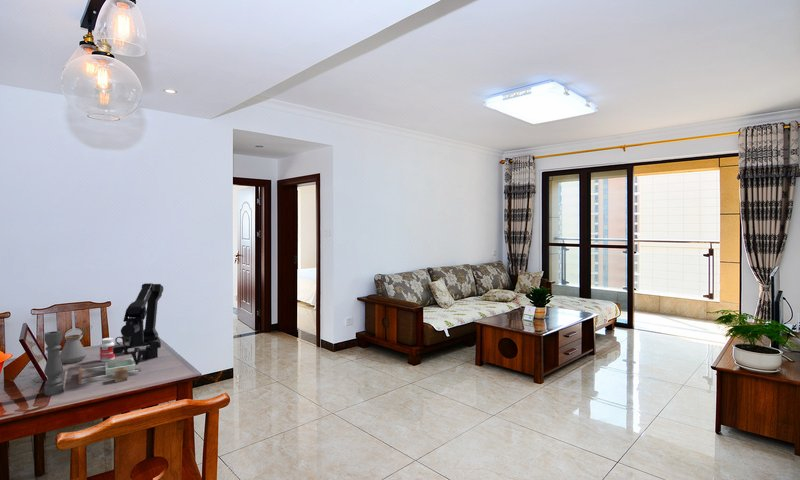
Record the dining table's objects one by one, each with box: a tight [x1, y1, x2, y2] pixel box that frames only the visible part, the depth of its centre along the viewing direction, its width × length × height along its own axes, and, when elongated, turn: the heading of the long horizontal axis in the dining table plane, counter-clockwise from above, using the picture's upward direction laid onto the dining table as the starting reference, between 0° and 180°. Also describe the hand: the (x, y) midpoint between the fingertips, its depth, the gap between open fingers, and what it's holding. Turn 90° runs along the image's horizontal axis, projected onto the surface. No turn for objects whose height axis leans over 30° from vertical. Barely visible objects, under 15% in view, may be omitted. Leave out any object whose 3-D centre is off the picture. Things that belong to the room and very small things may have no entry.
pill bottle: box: [99, 337, 116, 363], centre depth 217 cm, size 6×6×11 cm
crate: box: [104, 357, 136, 375], centre depth 196 cm, size 11×12×4 cm
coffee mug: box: [114, 334, 138, 355], centre depth 231 cm, size 12×9×10 cm
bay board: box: [78, 361, 140, 385], centre depth 194 cm, size 22×16×4 cm
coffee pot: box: [59, 325, 93, 364], centre depth 220 cm, size 21×12×15 cm, turn 8°
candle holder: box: [43, 330, 65, 397], centre depth 174 cm, size 6×6×25 cm
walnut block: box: [114, 367, 128, 383], centre depth 186 cm, size 4×4×6 cm
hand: (136, 364), depth 200 cm, fingers closed
